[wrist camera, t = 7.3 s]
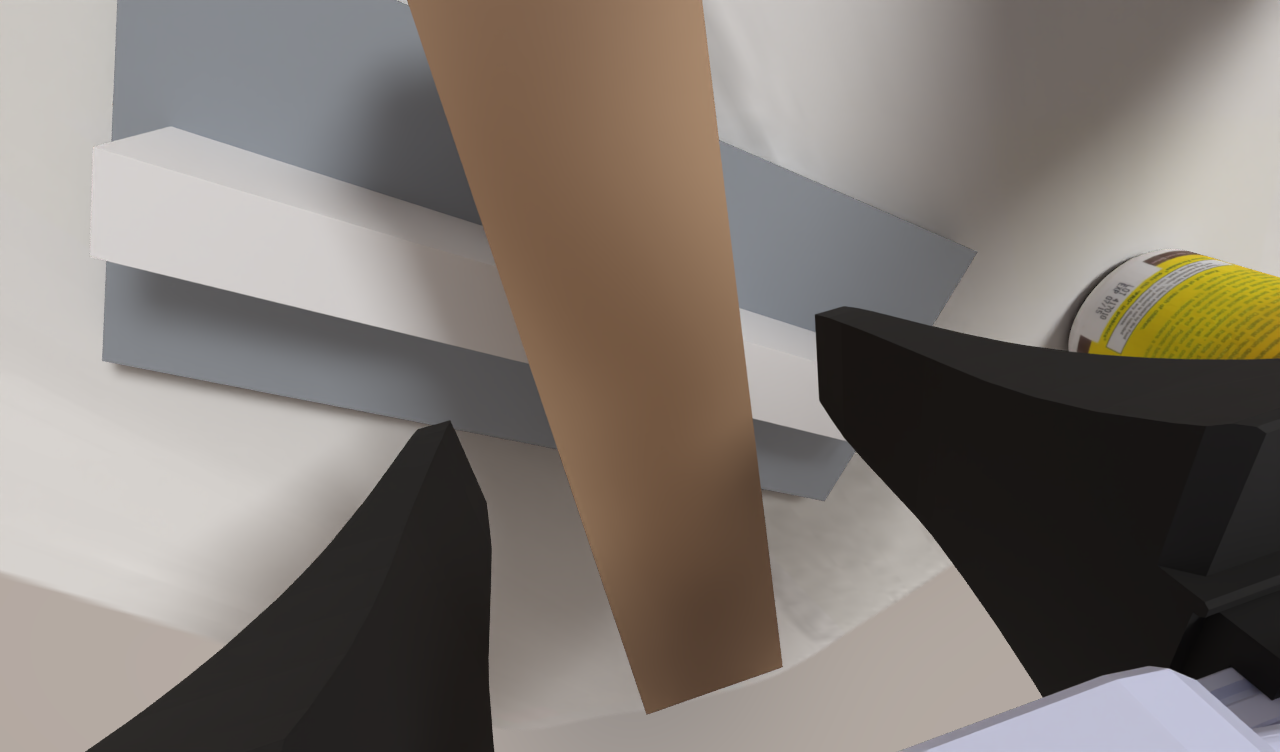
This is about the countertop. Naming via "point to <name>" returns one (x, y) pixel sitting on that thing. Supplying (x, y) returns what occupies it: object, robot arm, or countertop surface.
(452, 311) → the balance stand
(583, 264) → the walnut batten
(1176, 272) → the supplement bottle
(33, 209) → the countertop surface
